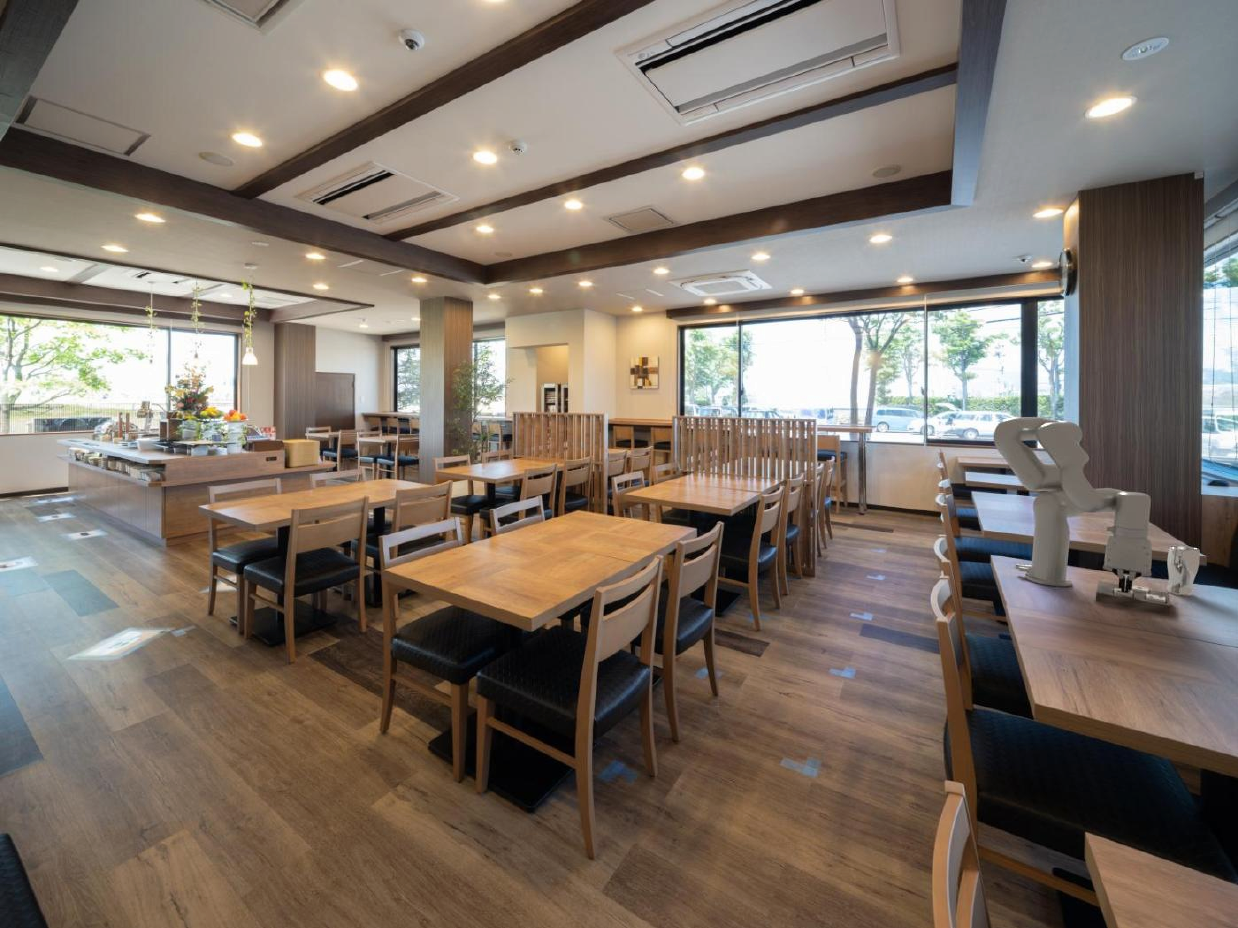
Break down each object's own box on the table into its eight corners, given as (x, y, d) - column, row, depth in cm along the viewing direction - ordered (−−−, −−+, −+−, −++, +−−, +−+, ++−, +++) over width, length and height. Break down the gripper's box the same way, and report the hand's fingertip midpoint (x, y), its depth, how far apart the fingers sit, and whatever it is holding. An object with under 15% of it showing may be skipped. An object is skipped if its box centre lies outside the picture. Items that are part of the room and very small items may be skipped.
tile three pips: (1113, 600, 162) (1114, 590, 162) (1113, 597, 165) (1114, 587, 165) (1131, 603, 160) (1132, 594, 159) (1131, 600, 162) (1132, 590, 162)
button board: (1095, 601, 164) (1096, 592, 164) (1098, 589, 174) (1098, 581, 173) (1169, 615, 153) (1170, 605, 152) (1167, 602, 163) (1168, 592, 162)
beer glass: (1180, 589, 173) (1186, 545, 172) (1202, 597, 167) (1207, 551, 165) (1157, 588, 174) (1162, 544, 172) (1177, 596, 167) (1183, 550, 166)
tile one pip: (1129, 597, 165) (1130, 587, 165) (1129, 594, 168) (1130, 584, 167) (1147, 600, 162) (1148, 590, 162) (1147, 597, 165) (1148, 587, 165)
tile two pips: (1145, 606, 157) (1146, 596, 157) (1145, 602, 160) (1146, 593, 160) (1164, 610, 155) (1165, 599, 154) (1164, 606, 158) (1165, 596, 157)
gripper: (1096, 531, 162) (1091, 588, 164) (1165, 539, 152) (1159, 600, 154) (1097, 527, 168) (1092, 582, 170) (1165, 534, 157) (1159, 593, 159)
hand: (1124, 590), depth 162 cm, fingers closed
